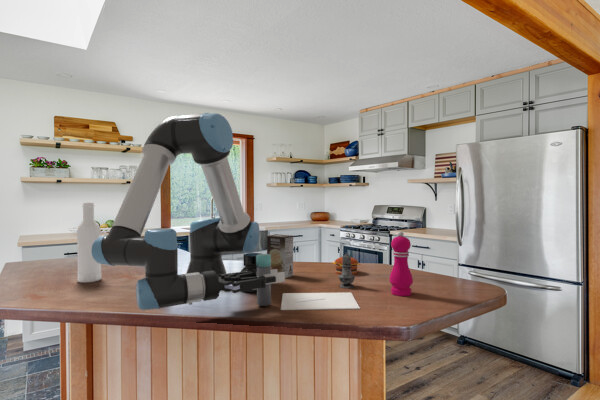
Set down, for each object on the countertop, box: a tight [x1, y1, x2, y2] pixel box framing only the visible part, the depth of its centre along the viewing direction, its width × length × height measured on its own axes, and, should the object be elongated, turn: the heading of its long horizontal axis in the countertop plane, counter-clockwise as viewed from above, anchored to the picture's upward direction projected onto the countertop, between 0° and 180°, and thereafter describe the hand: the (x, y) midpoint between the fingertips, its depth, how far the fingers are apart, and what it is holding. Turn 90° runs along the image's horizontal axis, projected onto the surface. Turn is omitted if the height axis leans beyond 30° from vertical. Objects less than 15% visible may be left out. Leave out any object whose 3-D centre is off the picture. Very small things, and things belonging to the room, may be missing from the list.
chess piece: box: [338, 251, 356, 289], centre depth 124 cm, size 6×6×12 cm
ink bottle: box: [240, 252, 263, 294], centre depth 121 cm, size 10×9×12 cm
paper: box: [280, 292, 361, 311], centre depth 107 cm, size 22×16×1 cm
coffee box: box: [266, 233, 294, 279], centre depth 142 cm, size 9×6×16 cm
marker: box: [256, 253, 272, 307], centre depth 103 cm, size 4×4×14 cm
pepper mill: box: [389, 231, 414, 297], centre depth 114 cm, size 7×7×20 cm
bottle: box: [76, 201, 102, 283], centre depth 137 cm, size 8×8×30 cm
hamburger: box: [331, 256, 362, 276], centre depth 146 cm, size 9×10×7 cm
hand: (280, 275), depth 105 cm, fingers closed on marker, 4 cm apart
